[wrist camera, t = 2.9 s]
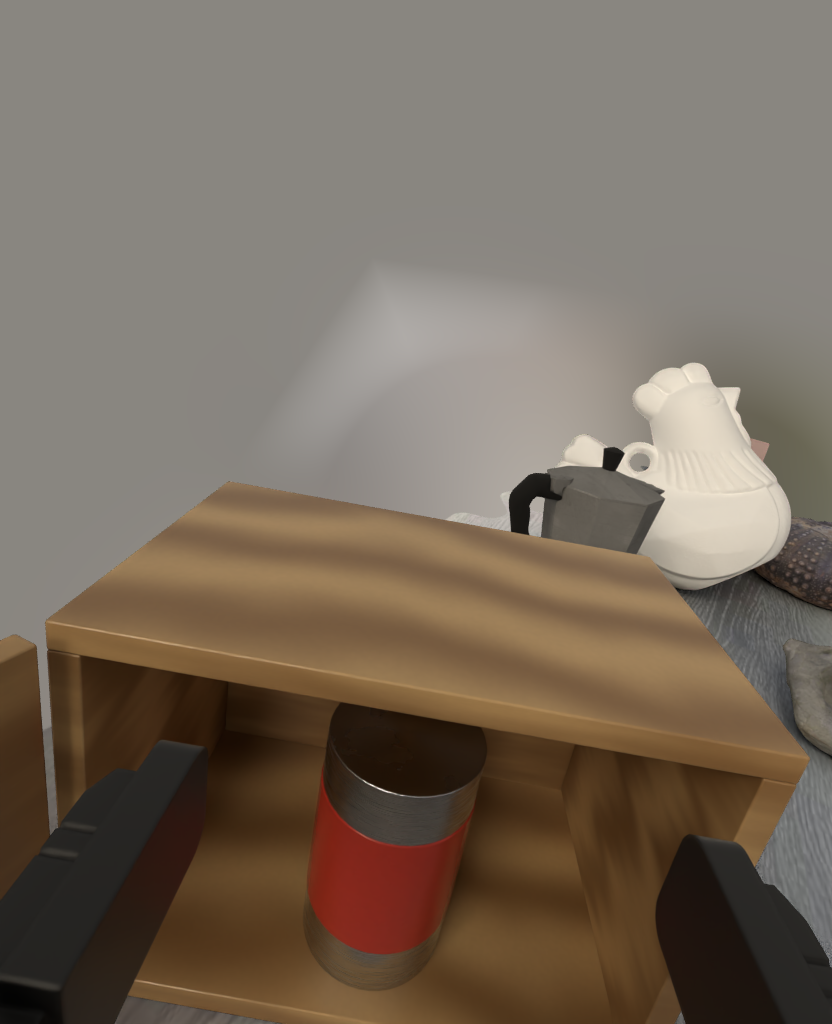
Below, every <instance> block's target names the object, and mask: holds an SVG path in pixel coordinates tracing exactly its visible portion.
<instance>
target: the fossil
mask: <svg viewBox="0 0 832 1024" xmlns="http://www.w3.org/2000/svg"><path fill="white" fill-rule="evenodd" d="M783 650H784V652H785V655H786V679H787V684H788V686H789V688H790V692H791V698H792V702H793V711H794V718H795V722H796V725H797V727H798V728H799V730H800V731H801V732H802V734H803V735H804V737H805V738H806V739H807V740H809V741H810V742H811V743H812V744H813V745H814V746H816V747H817V748H819V749H820V750H822V751H823V752H825V753H827V754H829V755H831V756H832V647H831V646H818V645H812V644H808V643H805V642H802V641H798V640H795V639H789V640H788V641H786V643H785V644H784V645H783Z"/></svg>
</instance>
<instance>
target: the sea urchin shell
mask: <svg viewBox="0 0 832 1024" xmlns="http://www.w3.org/2000/svg"><path fill="white" fill-rule="evenodd" d="M753 569H754V570H755V571H756V572H757V574H759V575H761V576H762V577H763V578H765V579H767V580H768V581H769V582H770V583H771V584H774V585H775V586H776V587H779V588H781V589H784V590H787V591H788V592H789V593H791V594H793V595H794V596H796V597H798V598H800V599H802V600H803V601H806V602H809V603H812V604H815V605H817V606H820V607H823V608H825V609H831V610H832V523H831V522H825V521H824V522H816V521H814V520H812V519H806V518H801V517H791V527H790V532H789V535H788V538H787V540H786V542H785V544H784V546H783V548H782V549H781V551H780V552H779V554H778V555H777V556H776V557H775V558H773V559H772V560H770V561H768V562H766V563H764V564H762V565H760V566H758V567H756V568H753Z"/></svg>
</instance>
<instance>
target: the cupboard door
mask: <svg viewBox="0 0 832 1024" xmlns="http://www.w3.org/2000/svg"><path fill="white" fill-rule="evenodd" d="M49 837H50V830H49V815H48V801H47V787H46V773H45V759H44V745H43V731H42V717H41V703H40V688H39V675H38V661H37V647H36V645H35V644H33V643H31V642H30V641H27V640H26V639H24V638H22V637H20V636H18V635H11V636H9V637H7V638H5V639H2V640H0V900H1V899H2V898H3V896H4V895H5V894H6V893H7V891H8V890H9V889H10V887H11V886H12V885H13V884H14V882H15V881H16V880H17V878H18V877H19V876H20V874H21V873H22V872H23V871H24V869H25V868H26V867H27V865H28V864H29V863H30V861H31V860H32V859H33V858H34V856H35V855H38V854H39V853H40V850H41V847H42V846H43V845H44V843H45V842H46V841H47V839H48V838H49Z"/></svg>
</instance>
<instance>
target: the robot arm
mask: <svg viewBox="0 0 832 1024" xmlns="http://www.w3.org/2000/svg"><path fill="white" fill-rule="evenodd" d="M207 774H208V749H207V748H206V747H202V746H197V745H191V744H185V743H179V742H174V741H168V740H160V741H159V742H157V744H156V745H155V746H154V747H153V748H152V750H151V751H150V753H149V754H148V756H147V757H146V759H145V760H144V761H143V763H142V764H141V766H140V767H139V769H138V770H137V771H132V770H127V769H121V768H116V769H115V770H114V771H112V772H111V773H109V774H108V775H107V776H105V777H104V778H103V779H101V780H100V781H98V782H97V783H96V784H94V785H93V786H91V787H90V788H89V789H87V790H86V791H85V792H84V793H83V794H82V795H81V797H80V798H79V799H78V801H77V802H76V803H75V805H74V806H73V807H72V808H71V810H70V811H69V812H68V814H67V815H66V816H65V817H64V819H63V820H62V821H61V825H60V827H59V828H56V829H55V830H54V832H53V833H52V834H51V836H50V837H49V838H48V839H47V841H46V842H45V843H44V845H43V846H42V847H41V850H40V853H39V854H38V855H35V856H34V858H33V859H32V860H31V861H30V863H29V864H28V865H27V867H26V868H25V869H24V871H23V872H22V873H21V874H20V876H19V877H18V878H17V880H16V881H15V882H14V884H13V885H12V886H11V887H10V889H9V890H8V891H7V893H6V894H5V895H4V896H3V898H2V899H1V900H0V1024H114V1023H115V1021H116V1019H117V1016H118V1014H119V1012H120V1010H121V1008H122V1006H123V1004H124V1002H125V1000H126V998H127V996H128V993H129V991H130V989H131V987H132V985H133V983H134V981H135V979H136V977H137V975H138V973H139V970H140V968H141V966H142V964H143V962H144V960H145V958H146V956H147V954H148V952H149V950H150V947H151V945H152V943H153V941H154V939H155V937H156V935H157V933H158V931H159V929H160V927H161V924H162V922H163V920H164V918H165V916H166V914H167V912H168V910H169V908H170V906H171V904H172V901H173V899H174V897H175V895H176V893H177V891H178V889H179V887H180V885H181V883H182V880H183V878H184V876H185V874H186V872H187V870H188V868H189V866H190V864H191V862H192V860H193V857H194V855H195V853H196V850H197V847H198V845H199V841H200V838H201V835H202V831H203V827H204V822H205V814H206V795H207ZM655 921H656V930H657V936H658V940H659V944H660V947H661V950H662V953H663V956H664V959H665V962H666V965H667V968H668V971H669V974H670V977H671V980H672V984H673V987H674V990H675V993H676V996H677V999H678V1002H679V1005H680V1008H681V1011H682V1014H683V1017H684V1020H685V1023H686V1024H832V968H831V967H830V965H829V959H828V957H827V955H826V954H825V952H824V950H823V948H822V947H821V945H820V943H819V942H818V940H817V938H816V936H815V935H814V933H813V931H812V929H811V928H810V926H809V924H808V923H807V921H806V920H805V919H804V918H803V916H802V915H801V914H800V913H799V912H798V911H797V910H796V909H795V908H794V907H793V906H792V904H791V903H790V902H789V901H788V900H787V899H786V898H785V897H784V896H783V895H782V893H781V892H780V891H779V890H778V889H777V888H776V887H775V886H774V885H769V884H764V883H763V882H762V880H761V878H760V876H759V874H758V872H757V871H756V869H755V867H754V865H753V863H752V861H751V860H750V858H749V856H748V854H747V853H746V851H745V850H744V848H743V847H742V846H741V845H740V844H738V843H736V842H733V841H727V840H721V839H716V838H710V837H704V836H699V835H693V834H688V835H686V836H685V837H684V838H683V839H682V841H681V843H680V846H679V848H678V850H677V853H676V855H675V857H674V860H673V862H672V864H671V867H670V869H669V871H668V874H667V876H666V878H665V881H664V883H663V885H662V888H661V890H660V892H659V895H658V898H657V902H656V910H655Z"/></svg>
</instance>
